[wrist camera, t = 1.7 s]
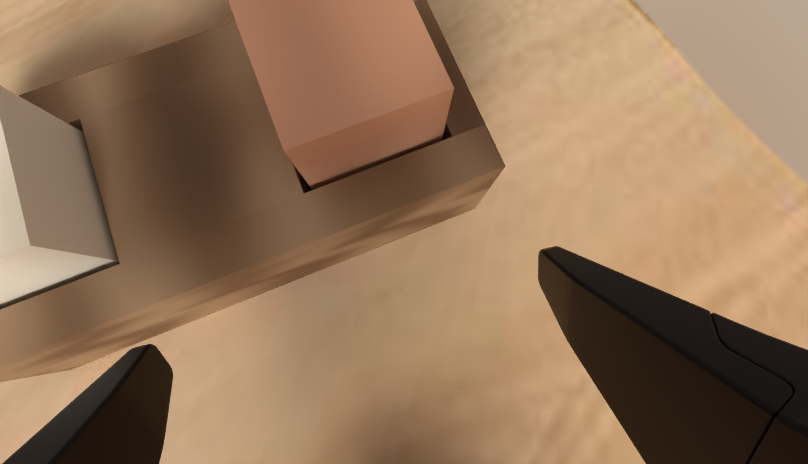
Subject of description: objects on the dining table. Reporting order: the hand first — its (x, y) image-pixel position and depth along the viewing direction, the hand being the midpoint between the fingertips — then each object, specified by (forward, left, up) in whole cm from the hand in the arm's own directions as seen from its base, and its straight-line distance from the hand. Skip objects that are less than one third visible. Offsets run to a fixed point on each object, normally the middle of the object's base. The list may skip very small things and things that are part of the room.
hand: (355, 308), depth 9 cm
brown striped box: (+9, -4, -13) cm, 17 cm away
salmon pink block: (+4, -8, -10) cm, 13 cm away
